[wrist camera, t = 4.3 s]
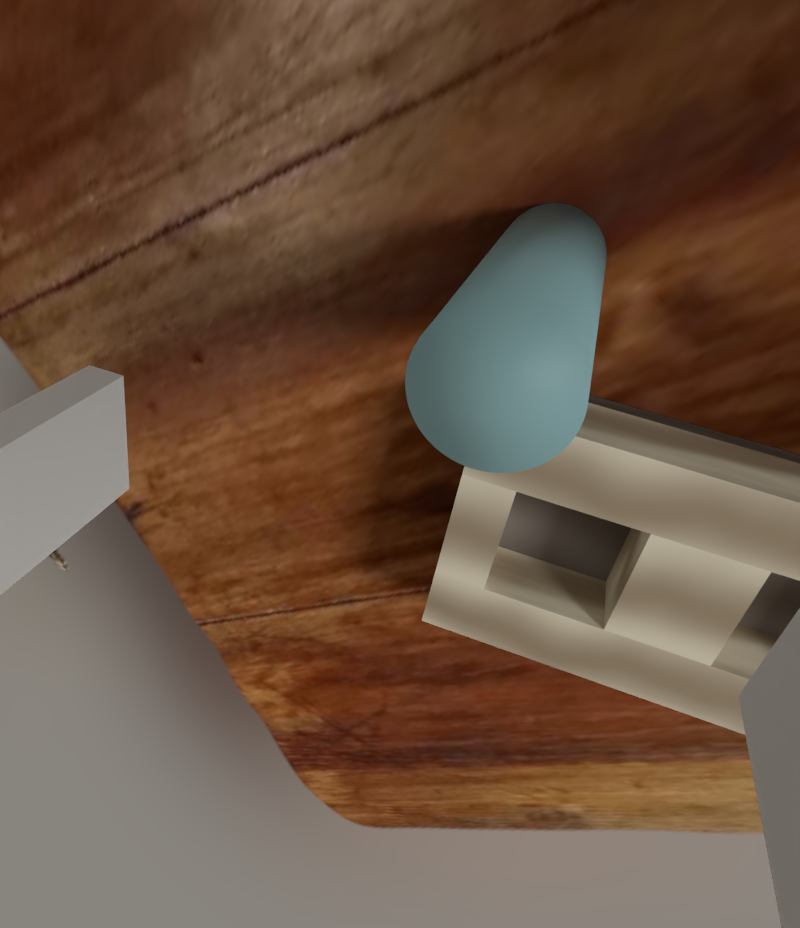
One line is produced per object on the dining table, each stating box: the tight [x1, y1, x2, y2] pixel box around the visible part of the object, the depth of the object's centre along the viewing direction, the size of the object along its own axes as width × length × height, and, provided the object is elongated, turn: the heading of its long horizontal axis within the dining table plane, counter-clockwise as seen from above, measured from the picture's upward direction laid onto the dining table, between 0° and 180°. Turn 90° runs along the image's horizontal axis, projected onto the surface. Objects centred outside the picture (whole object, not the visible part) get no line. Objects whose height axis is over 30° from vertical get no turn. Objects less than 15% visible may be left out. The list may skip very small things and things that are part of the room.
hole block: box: [422, 395, 800, 735], centre depth 35 cm, size 14×24×5 cm, turn 80°
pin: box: [405, 203, 607, 473], centre depth 25 cm, size 5×5×16 cm
